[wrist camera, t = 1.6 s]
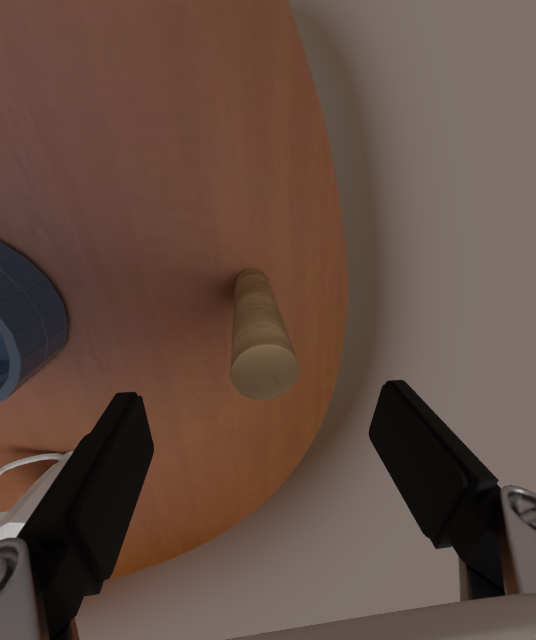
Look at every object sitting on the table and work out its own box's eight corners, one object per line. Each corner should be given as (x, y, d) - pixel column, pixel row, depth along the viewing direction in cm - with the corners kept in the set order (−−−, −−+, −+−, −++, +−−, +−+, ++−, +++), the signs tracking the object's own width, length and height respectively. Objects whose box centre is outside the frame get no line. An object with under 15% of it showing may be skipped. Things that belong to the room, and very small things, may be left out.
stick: (228, 279, 22) (216, 365, 11) (258, 262, 22) (280, 332, 10) (246, 307, 24) (252, 409, 12) (274, 291, 23) (310, 382, 12)
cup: (96, 484, 33) (56, 563, 26) (11, 461, 29) (-63, 545, 22) (118, 454, 31) (82, 532, 24) (30, 426, 27) (-44, 506, 20)
